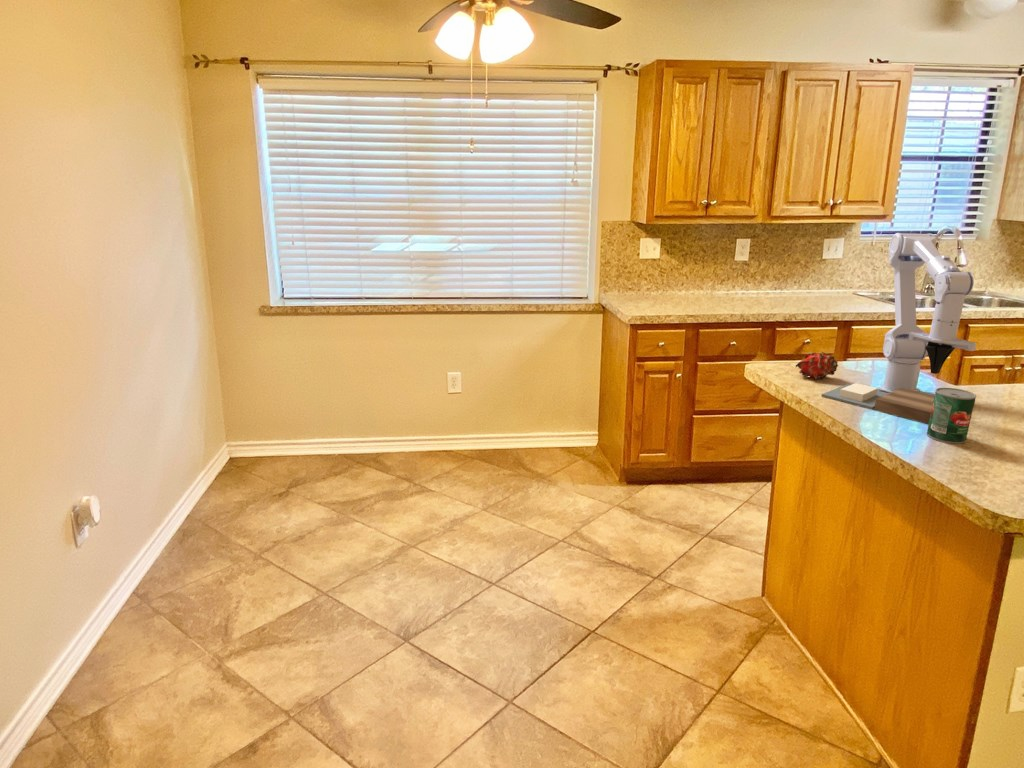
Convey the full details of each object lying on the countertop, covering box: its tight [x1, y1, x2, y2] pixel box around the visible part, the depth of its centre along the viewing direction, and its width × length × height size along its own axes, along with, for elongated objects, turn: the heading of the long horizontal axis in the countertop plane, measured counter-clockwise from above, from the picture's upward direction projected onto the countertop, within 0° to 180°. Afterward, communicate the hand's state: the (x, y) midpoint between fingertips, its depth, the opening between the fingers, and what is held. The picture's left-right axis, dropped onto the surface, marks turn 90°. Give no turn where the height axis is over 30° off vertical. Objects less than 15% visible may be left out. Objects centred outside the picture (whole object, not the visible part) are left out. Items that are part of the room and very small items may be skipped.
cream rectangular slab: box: [839, 382, 879, 402], centre depth 183 cm, size 9×6×2 cm, turn 130°
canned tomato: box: [926, 387, 977, 445], centre depth 155 cm, size 8×8×11 cm
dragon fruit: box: [795, 351, 839, 380], centre depth 201 cm, size 8×8×12 cm
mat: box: [821, 383, 889, 410], centre depth 184 cm, size 16×14×1 cm
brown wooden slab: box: [873, 388, 935, 425], centre depth 174 cm, size 16×14×3 cm
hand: (934, 372), depth 171 cm, fingers closed
